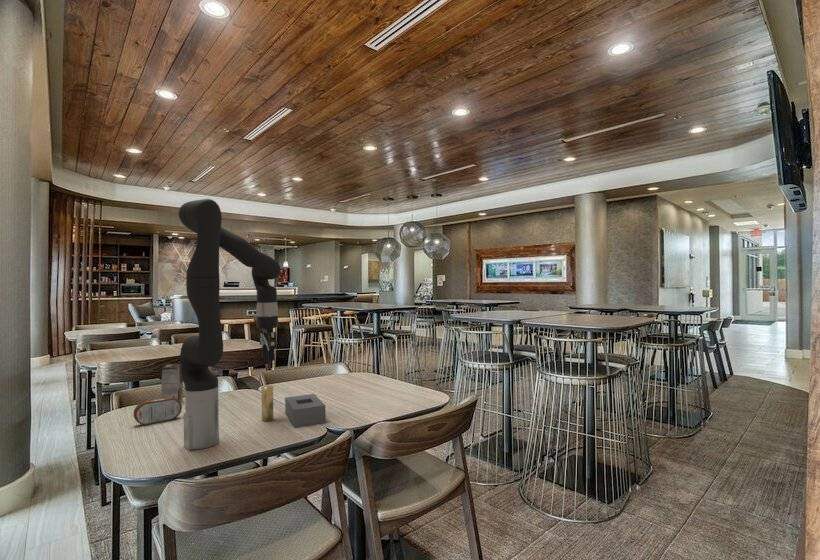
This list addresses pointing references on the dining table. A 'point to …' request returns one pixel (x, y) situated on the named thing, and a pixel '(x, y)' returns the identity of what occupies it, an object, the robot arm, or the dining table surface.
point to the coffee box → (172, 381)
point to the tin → (157, 410)
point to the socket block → (305, 410)
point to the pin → (267, 403)
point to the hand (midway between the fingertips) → (268, 359)
